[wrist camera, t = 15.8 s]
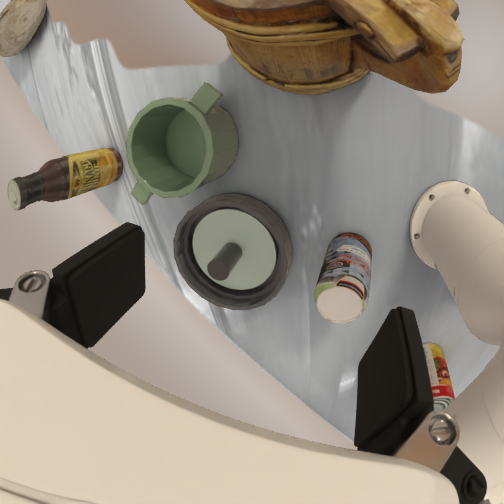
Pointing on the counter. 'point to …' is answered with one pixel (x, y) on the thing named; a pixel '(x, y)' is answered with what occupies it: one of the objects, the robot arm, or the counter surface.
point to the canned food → (438, 376)
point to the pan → (209, 287)
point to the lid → (234, 249)
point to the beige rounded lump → (19, 24)
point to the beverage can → (344, 279)
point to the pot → (180, 145)
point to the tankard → (340, 41)
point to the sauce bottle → (66, 177)
